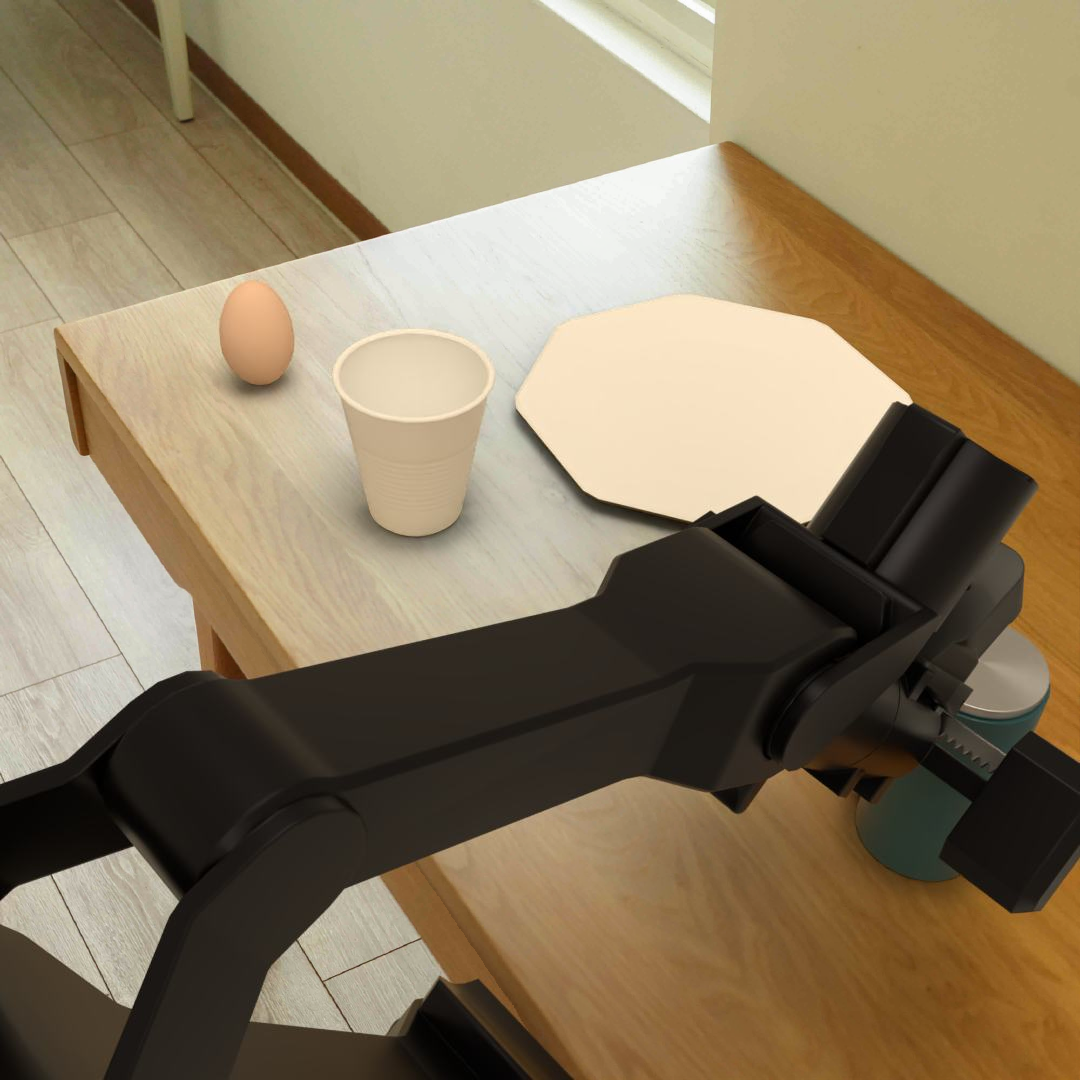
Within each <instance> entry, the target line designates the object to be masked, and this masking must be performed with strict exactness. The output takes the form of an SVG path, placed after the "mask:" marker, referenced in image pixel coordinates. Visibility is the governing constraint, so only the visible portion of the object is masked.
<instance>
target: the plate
mask: <svg viewBox="0 0 1080 1080" xmlns="http://www.w3.org/2000/svg"><path fill="white" fill-rule="evenodd" d="M896 401H898V402H900V403H902V404H905V405H908V406H909V405H910V404H912V403H914V402H913V400H912V397H911V396H910V393H908V392H906V390H904V389H903V388H902V387H901V386H899V385H898V384H897V383H896V382H895V381H894V380H892V379H891V378H890V377H889V376H888V375H887V374H885V373H884V372H883V371H882V370H881V369H880V368H878V367H877V366H876V365H875V364H874V363H872V362H871V361H870V360H869V359H868V358H866V357H865V356H864V355H863V354H861V352H860V351H858V350H857V349H856V348H855V347H853V346H852V345H851V344H850V343H849V342H848V341H846V339H844V338H843V337H842V336H841V335H840V334H838V333H837V332H836V331H835V330H833V328H831V327H830V326H829V325H827V324H825V323H823V322H820V321H818V320H816V319H814V318H810V317H805V316H799V315H795V314H790V313H787V312H780V311H777V310H772V309H767V308H762V307H756V306H751V305H748V304H742V303H739V302H733V301H729V300H723V299H718V298H715V297H714V298H713V297H709V296H704V295H699V294H694V293H674V294H671V295H666V296H662V297H658V298H654V299H650V300H645V301H640V302H637V303H633V304H628V305H624V306H620V307H616V308H615V307H614V308H612V309H607V310H603V311H599V312H595V313H591V314H586V315H583V316H578V317H574V318H573V317H572V318H570V319H566V320H565V321H563V322H562V323H560V324H558V325H556V326H555V328H554V329H553V330H552V333H551V335H550V336H549V338H548V340H547V341H546V343H545V345H544V347H543V348H542V350H541V351H540V353H539V355H538V357H537V359H536V360H535V361H534V364H533V366H532V367H531V369H530V370H529V372H528V374H527V375H526V377H525V379H524V380H523V382H522V384H521V386H520V388H519V389H518V390H517V393H516V394H515V396H514V403H515V405H514V406H515V411H516V412H517V414H518V415H519V416H520V417H521V419H522V420H523V421H524V422H525V424H526V425H527V426H528V427H529V429H530V430H531V431H532V432H533V433H534V434H535V436H536V437H537V438H538V439H539V441H540V442H541V443H542V444H543V446H544V447H545V448H546V449H547V450H548V452H549V453H550V454H551V456H552V457H553V458H554V459H555V460H556V462H557V463H558V465H560V467H561V468H562V469H563V470H564V471H565V473H566V474H567V475H568V476H569V478H570V479H571V480H572V481H573V482H574V484H575V485H576V486H577V487H578V488H579V490H580V492H582V493H583V494H584V495H586V496H588V497H589V498H591V499H593V500H594V501H597V502H600V503H603V504H606V505H607V504H608V505H611V506H615V507H619V508H624V509H627V510H632V511H636V512H639V513H645V514H648V515H651V516H656V517H661V518H665V519H667V520H672V521H673V520H674V521H678V522H681V523H685V524H688V525H689V524H691V523H692V522H694V521H695V520H697V519H698V518H700V517H701V516H703V515H704V514H706V513H707V512H709V511H710V510H711V511H713V512H714V513H716V514H718V513H720V512H722V511H724V510H726V509H728V508H730V507H732V506H734V505H736V504H739V503H741V502H743V501H745V500H747V499H749V498H751V497H753V496H756V495H757V496H759V497H761V498H762V499H764V500H765V501H767V502H768V503H770V504H772V505H773V506H775V507H776V508H778V509H779V510H781V511H782V512H784V513H785V514H787V515H788V516H790V517H791V518H793V519H794V520H796V521H797V522H799V523H801V524H802V525H804V526H805V525H808V524H809V522H810V521H811V520H812V518H813V517H814V515H815V514H816V512H817V511H818V510H819V508H820V507H821V505H822V504H823V502H824V501H825V499H826V498H827V497H828V495H829V494H830V492H831V491H832V489H833V488H834V486H835V485H836V484H837V482H838V481H839V479H840V478H841V476H842V475H843V473H844V472H845V471H846V469H847V468H848V466H849V465H850V463H851V462H852V460H853V459H854V458H855V456H856V455H857V453H858V452H859V450H860V449H861V447H862V446H863V445H864V443H865V442H866V440H867V439H868V437H869V436H870V434H871V433H872V432H873V430H874V429H875V427H876V426H877V424H878V423H879V421H880V420H881V419H882V417H883V416H884V414H885V413H886V411H887V410H888V408H889V407H890V406H891V404H892V403H893V402H896Z"/></svg>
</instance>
